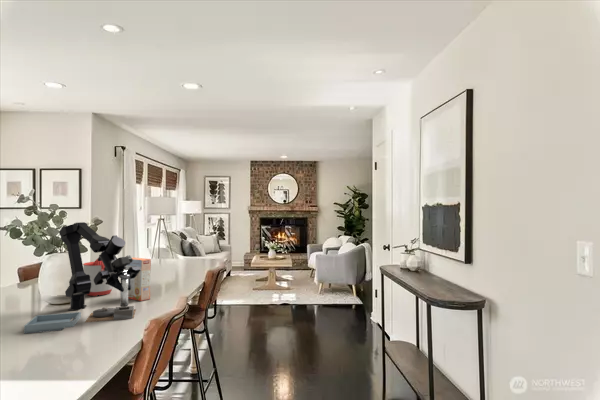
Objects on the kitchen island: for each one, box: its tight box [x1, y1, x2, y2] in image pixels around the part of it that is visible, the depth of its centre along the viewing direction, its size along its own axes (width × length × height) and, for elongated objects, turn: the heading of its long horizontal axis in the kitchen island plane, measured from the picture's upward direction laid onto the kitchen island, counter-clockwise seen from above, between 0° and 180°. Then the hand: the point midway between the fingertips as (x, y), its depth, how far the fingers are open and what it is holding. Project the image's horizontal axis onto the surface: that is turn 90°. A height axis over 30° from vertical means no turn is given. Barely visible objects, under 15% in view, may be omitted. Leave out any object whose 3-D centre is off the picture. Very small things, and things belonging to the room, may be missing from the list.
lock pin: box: [118, 274, 130, 307], centre depth 159 cm, size 4×4×13 cm
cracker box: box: [124, 257, 152, 302], centre depth 195 cm, size 14×6×21 cm, turn 58°
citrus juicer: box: [82, 258, 113, 297], centre depth 205 cm, size 16×17×20 cm
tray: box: [23, 311, 82, 335], centre depth 149 cm, size 14×16×3 cm
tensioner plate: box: [84, 305, 137, 324], centre depth 160 cm, size 15×18×4 cm
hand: (126, 290), depth 158 cm, fingers closed on lock pin, 3 cm apart
